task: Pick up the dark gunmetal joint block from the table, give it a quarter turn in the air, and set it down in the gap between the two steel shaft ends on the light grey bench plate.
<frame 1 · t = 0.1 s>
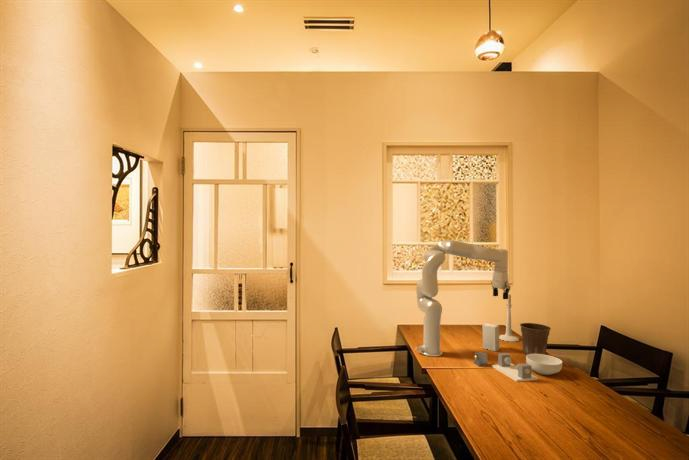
hand: (500, 297, 235), 31 cm above the table, tool pointing down, fingers open, 9 cm apart
candlestick: (508, 339, 255), on the table
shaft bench: (513, 372, 196), on the table
joint block: (480, 364, 208), on the table
skincare box: (490, 349, 234), on the table
plant pot: (534, 353, 227), on the table
cereal bowl: (543, 372, 198), on the table
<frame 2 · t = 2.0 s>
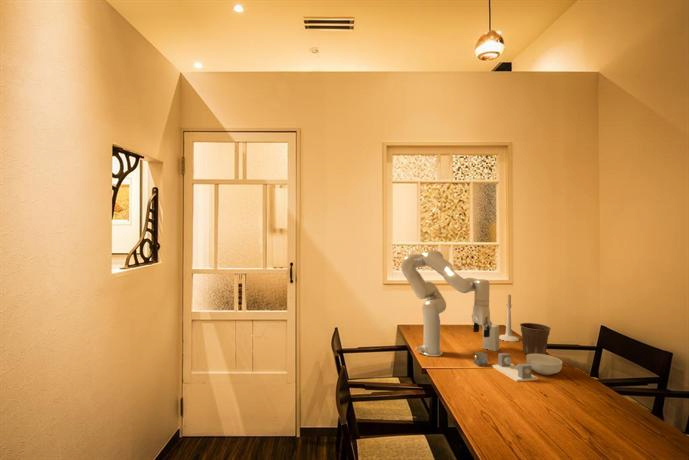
hand: (481, 334, 208), 16 cm above the table, tool pointing down, fingers open, 9 cm apart
nothing on the table moved.
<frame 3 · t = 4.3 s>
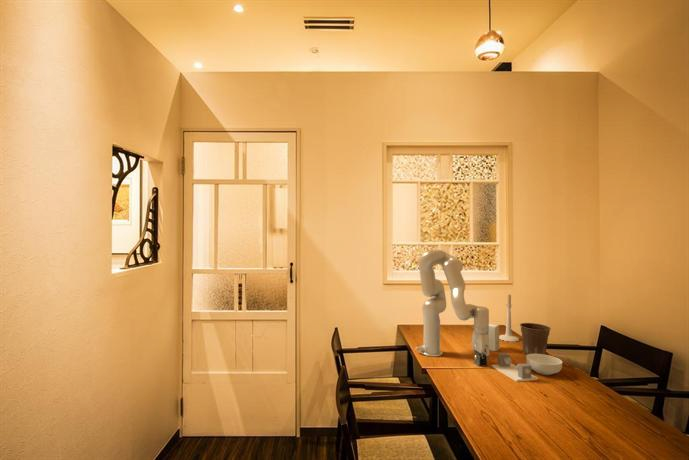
hand: (480, 363, 208), 1 cm above the table, tool pointing down, fingers closed on joint block, 4 cm apart
joint block: (480, 364, 208), on the table, touching gripper
everything else where it was.
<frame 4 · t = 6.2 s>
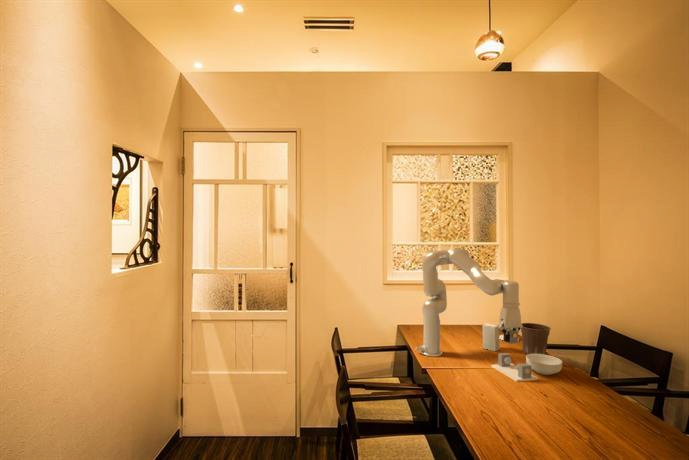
hand: (510, 340, 198), 16 cm above the table, tool pointing down, fingers closed on joint block, 4 cm apart
joint block: (510, 341, 198), point 16 cm above the table, touching gripper
everything else where it was.
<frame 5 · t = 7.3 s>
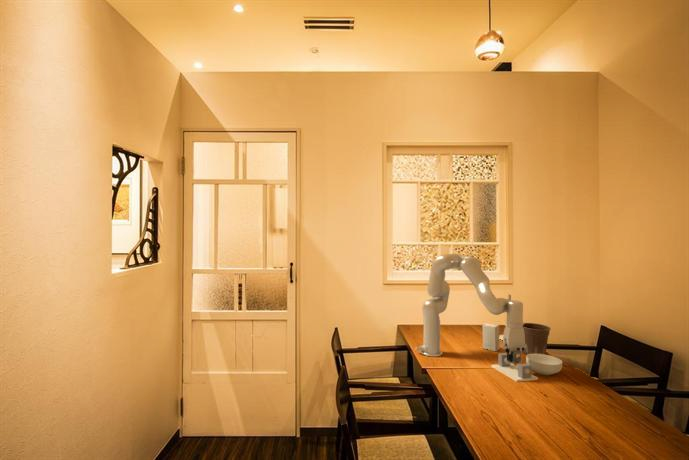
hand: (513, 360, 196), 6 cm above the table, tool pointing down, fingers closed on joint block, 4 cm apart
joint block: (513, 361, 196), point 6 cm above the table, touching gripper
everything else where it was.
when the fingers open (3 cm above the table, at t = 8.3 s): joint block drops 2 cm, resting on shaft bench.
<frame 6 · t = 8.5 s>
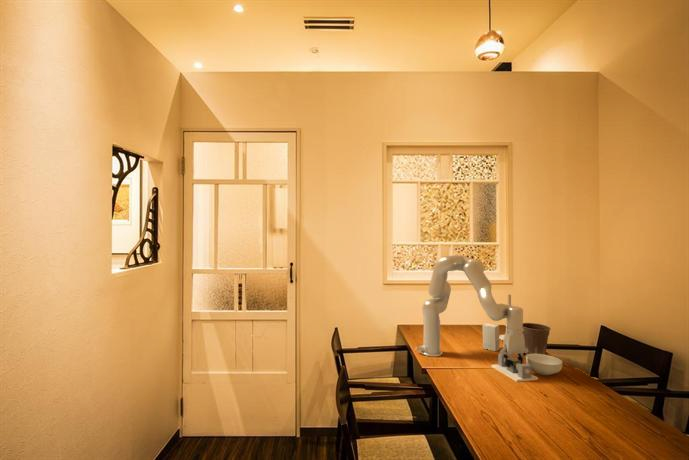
hand: (513, 365, 196), 4 cm above the table, tool pointing down, fingers open, 6 cm apart
joint block: (513, 370, 197), point 1 cm above the table, touching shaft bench
everything else where it was.
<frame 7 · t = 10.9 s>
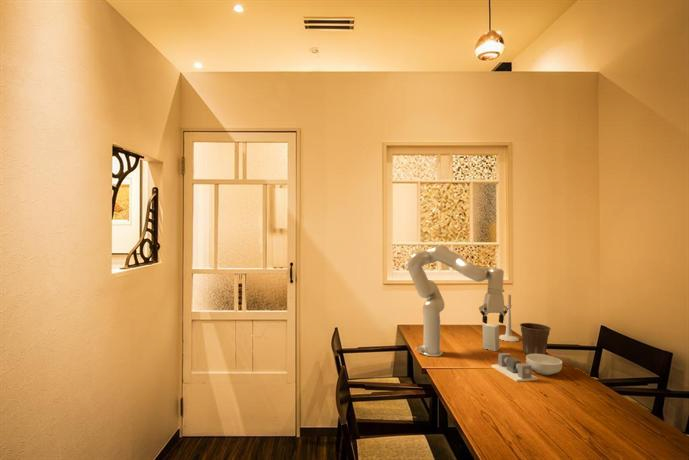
hand: (492, 322, 208), 22 cm above the table, tool pointing down, fingers open, 9 cm apart
nothing on the table moved.
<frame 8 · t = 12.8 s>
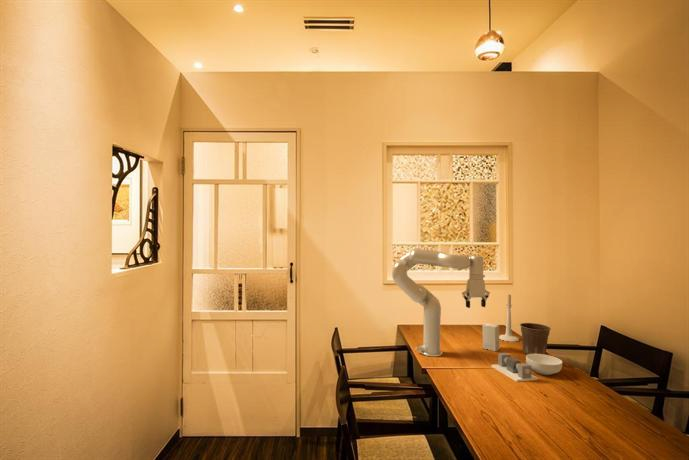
hand: (475, 307, 220), 28 cm above the table, tool pointing down, fingers open, 9 cm apart
nothing on the table moved.
at the end: joint block 0.1 cm off-centre on the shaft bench, point 1.0 cm above the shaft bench's base; joint block tilted 0°; the gripper is holding nothing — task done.
